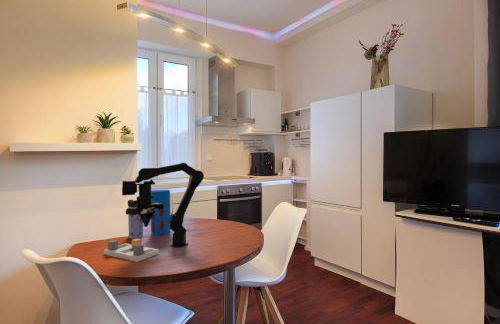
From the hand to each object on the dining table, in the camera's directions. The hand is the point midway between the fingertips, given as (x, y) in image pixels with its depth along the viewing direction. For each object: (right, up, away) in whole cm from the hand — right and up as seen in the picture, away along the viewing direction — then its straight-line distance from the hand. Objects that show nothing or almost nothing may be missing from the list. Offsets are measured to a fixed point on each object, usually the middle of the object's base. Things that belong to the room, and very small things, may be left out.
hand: (146, 226), depth 149 cm
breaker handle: (-3, -9, -5) cm, 10 cm away
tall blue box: (-1, -11, +30) cm, 32 cm away
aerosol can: (-14, -11, +24) cm, 30 cm away
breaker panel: (-4, -11, -7) cm, 14 cm away
